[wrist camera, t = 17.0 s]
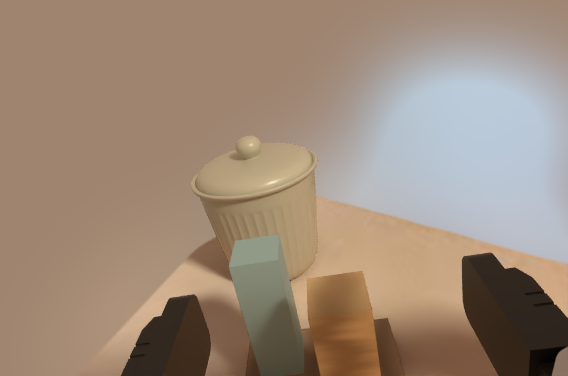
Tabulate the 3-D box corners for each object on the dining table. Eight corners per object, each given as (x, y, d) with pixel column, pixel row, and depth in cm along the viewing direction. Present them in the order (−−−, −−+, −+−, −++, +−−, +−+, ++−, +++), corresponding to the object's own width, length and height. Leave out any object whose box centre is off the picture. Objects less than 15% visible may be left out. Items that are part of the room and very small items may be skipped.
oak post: (379, 394, 38) (362, 270, 33) (389, 441, 34) (372, 309, 29) (331, 399, 39) (306, 278, 33) (335, 446, 35) (308, 317, 29)
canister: (358, 252, 64) (339, 120, 55) (273, 321, 53) (234, 172, 45) (279, 224, 76) (254, 114, 68) (198, 276, 66) (156, 153, 58)
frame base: (389, 331, 48) (375, 210, 41) (438, 503, 31) (427, 346, 25) (254, 348, 49) (221, 234, 43) (234, 521, 33) (175, 377, 27)
